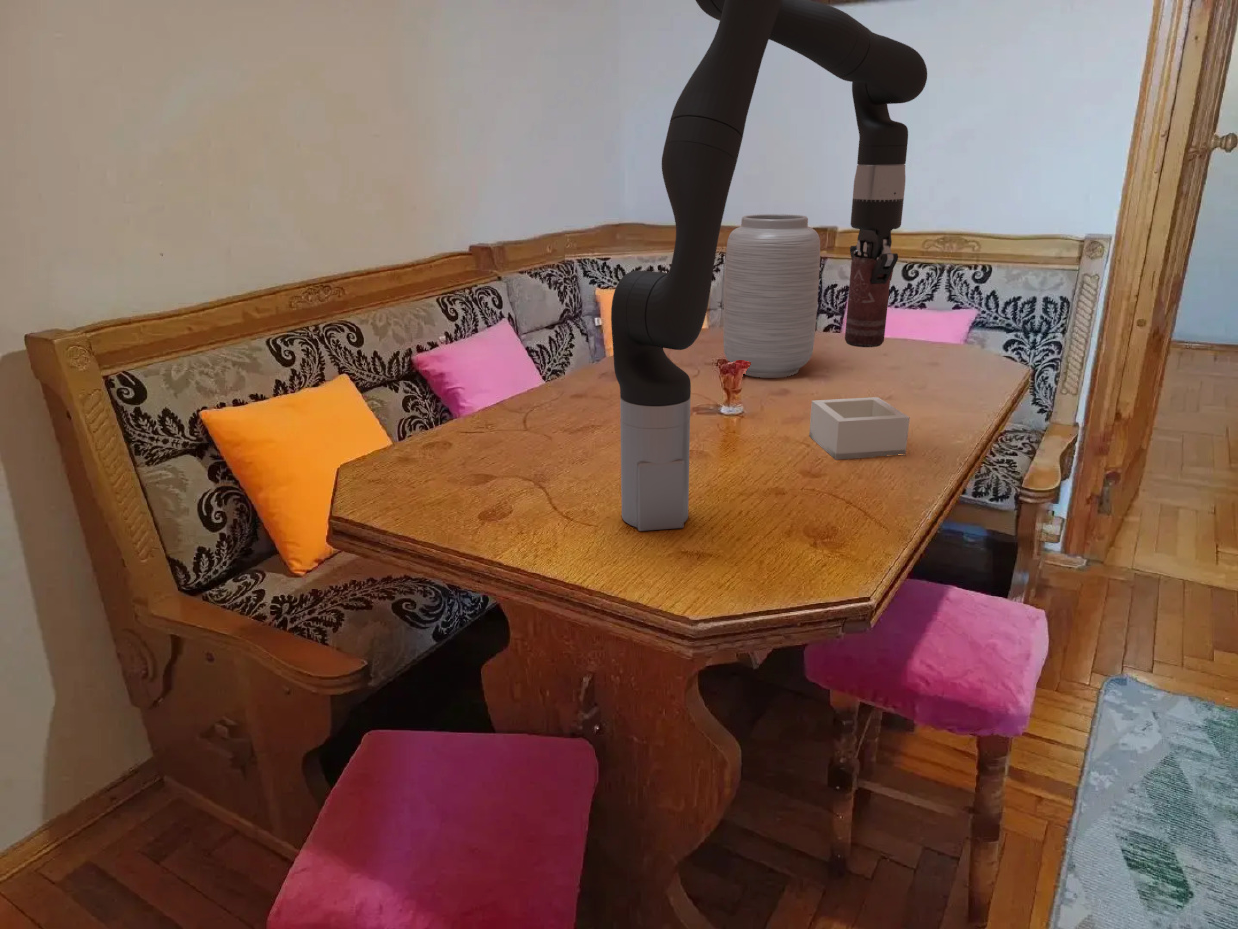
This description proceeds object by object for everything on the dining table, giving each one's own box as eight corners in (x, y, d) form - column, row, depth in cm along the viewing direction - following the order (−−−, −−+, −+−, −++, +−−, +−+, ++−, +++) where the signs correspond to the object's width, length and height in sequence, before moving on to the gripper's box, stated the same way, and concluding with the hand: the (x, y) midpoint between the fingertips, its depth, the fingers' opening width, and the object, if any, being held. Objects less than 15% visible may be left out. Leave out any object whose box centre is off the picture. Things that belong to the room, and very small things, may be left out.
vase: (743, 385, 180) (750, 221, 168) (708, 363, 198) (712, 214, 186) (828, 377, 185) (841, 218, 173) (787, 357, 203) (796, 211, 191)
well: (905, 455, 138) (909, 417, 136) (835, 459, 137) (838, 421, 135) (874, 432, 150) (877, 396, 147) (809, 436, 148) (811, 400, 146)
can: (886, 348, 134) (896, 258, 129) (845, 347, 135) (853, 257, 130) (883, 339, 139) (892, 253, 134) (843, 338, 141) (851, 252, 135)
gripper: (922, 197, 123) (909, 316, 129) (882, 193, 136) (872, 301, 142) (873, 199, 122) (862, 318, 128) (838, 194, 135) (829, 303, 141)
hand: (867, 309), depth 135 cm, fingers closed
